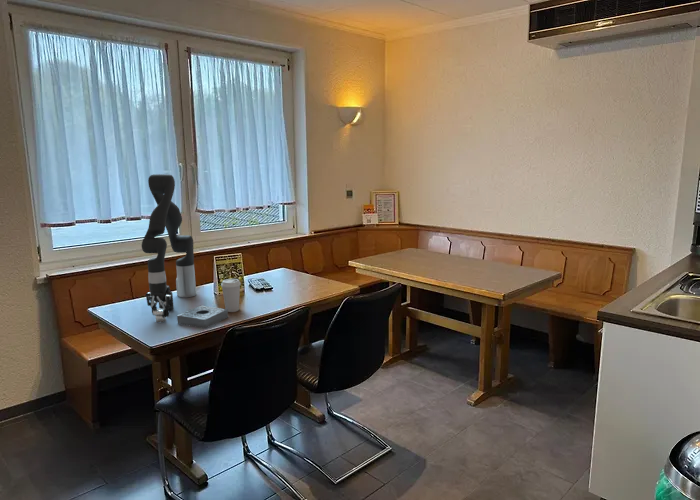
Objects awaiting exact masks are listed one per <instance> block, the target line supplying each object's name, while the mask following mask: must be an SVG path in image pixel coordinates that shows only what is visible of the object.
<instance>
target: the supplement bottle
mask: <svg viewBox="0 0 700 500" xmlns="http://www.w3.org/2000/svg"><path fill="white" fill-rule="evenodd" d="M166 294H167V295H172V307H170V308H168V311H169V312H171V311H173V310H174V307H175V306H174V298H173V292H172V291H171V287H170V285H167V290H166ZM164 302H165V301H164ZM164 302H163V303H164ZM164 305H165V304H164ZM165 306H166V305H165ZM159 308H163V307H162V305H160V303H159V302H158V309H159Z"/></svg>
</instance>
